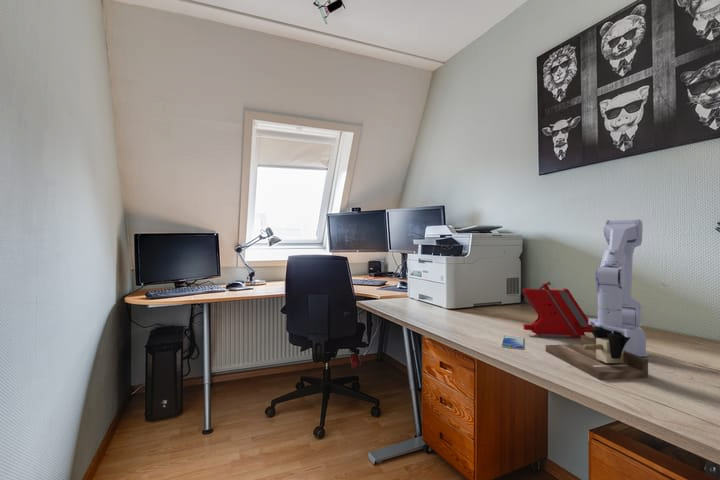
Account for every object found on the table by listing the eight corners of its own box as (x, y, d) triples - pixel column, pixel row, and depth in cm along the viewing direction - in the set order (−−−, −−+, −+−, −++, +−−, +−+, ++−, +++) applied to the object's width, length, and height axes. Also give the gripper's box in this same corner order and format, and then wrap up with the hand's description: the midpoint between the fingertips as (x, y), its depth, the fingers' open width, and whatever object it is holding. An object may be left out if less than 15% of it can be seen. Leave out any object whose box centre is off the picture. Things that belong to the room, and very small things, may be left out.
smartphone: (524, 337, 133) (523, 348, 119) (524, 340, 133) (523, 351, 119) (503, 335, 136) (501, 345, 122) (503, 337, 136) (501, 348, 122)
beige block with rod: (612, 357, 103) (612, 337, 103) (623, 362, 100) (623, 341, 100) (579, 358, 103) (579, 338, 103) (589, 363, 99) (589, 342, 99)
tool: (600, 331, 138) (567, 268, 140) (609, 334, 132) (574, 268, 134) (536, 358, 140) (505, 295, 142) (543, 362, 134) (510, 297, 136)
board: (585, 350, 119) (585, 335, 119) (648, 378, 95) (648, 359, 95) (545, 351, 118) (545, 336, 118) (599, 379, 94) (599, 360, 94)
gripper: (579, 304, 108) (579, 348, 108) (616, 314, 94) (616, 364, 94) (600, 303, 109) (600, 347, 109) (641, 313, 94) (641, 364, 94)
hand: (609, 355), depth 101 cm, fingers closed on beige block with rod, 4 cm apart
